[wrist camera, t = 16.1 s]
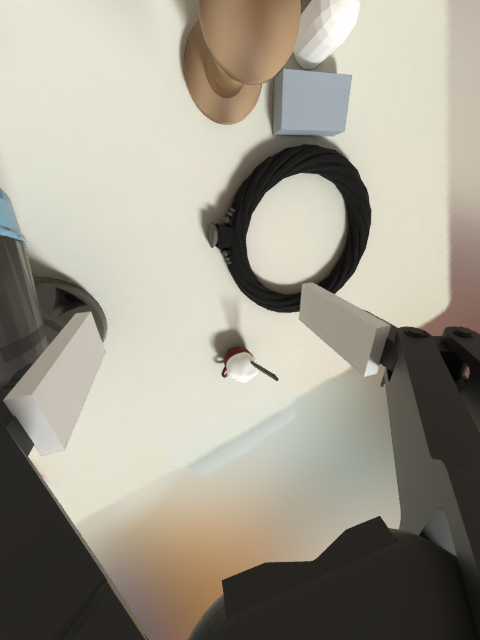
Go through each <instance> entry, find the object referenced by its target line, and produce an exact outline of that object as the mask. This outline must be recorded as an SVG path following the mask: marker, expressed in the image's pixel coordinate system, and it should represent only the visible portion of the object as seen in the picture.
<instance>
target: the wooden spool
mask: <svg viewBox="0 0 480 640" xmlns="http://www.w3.org/2000/svg"><path fill="white" fill-rule="evenodd" d="M198 11H199V19H200V20H199V21H198V22H197V23H196V24H195V26H194V27H193V29H192V31H191V32H190V35H189V37H188V40H187V44H186V49H185V56H184V73H185V79H186V83H187V87H188V90H189V93H190V95H191V97H192V99H193V101H194V103H195V104H196V106H197V107H198V108H199V110H200V111H201V112H202V113H203V114H204V115H205V116H206V117H208V118H209V119H211V120H212V121H214V122H216V123H220V124H225V125H228V124H235V123H237V122H239V121H241V120H243V119H244V118H245V117H246V116H247V115H248V114H249V113H250V112H251V111H252V110H253V108H254V106H255V105H256V103H257V101H258V98H259V96H260V92H261V88H262V83H265V82H267V81H269V80H270V79H272V78H273V77H274V76H275V75H276V74H277V73H278V72H279V71H280V70H281V68H282V67H283V66H284V65H285V64H286V62H287V61H288V59H289V57H290V55H291V53H292V51H293V49H294V46H295V44H296V40H297V37H298V32H299V27H300V18H301V1H300V0H198Z"/></svg>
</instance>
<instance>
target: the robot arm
mask: <svg viewBox="0 0 480 640" xmlns="http://www.w3.org/2000/svg"><path fill="white" fill-rule="evenodd" d="M24 242H26V238H25V236H24V235H22V234H21V231H20V228H19V225H18V222H17V219H16V216H15V213H14V209H13V206H12V203H11V201H10V199H9V197H8V196H7V194H6V193H5V192H4V191H3V190H2V189H1V188H0V640H152V638H151V637H150V636H149V634H148V633H147V631H146V630H145V629H144V627H143V626H142V624H141V623H140V621H139V620H138V619H137V617H136V615H135V614H134V612H133V611H132V610H131V608H130V607H129V605H128V604H127V602H126V601H125V600H124V598H123V596H122V595H121V593H120V592H119V590H118V589H117V587H116V586H115V584H114V583H113V581H112V580H111V579H110V577H109V575H108V574H107V573H106V571H105V570H104V568H103V567H102V565H101V564H100V562H99V561H98V559H97V558H96V556H95V555H94V553H93V552H92V550H91V549H90V547H89V546H88V545H87V543H86V541H85V540H84V539H83V537H82V536H81V534H80V533H79V531H78V530H77V528H76V527H75V525H74V524H73V522H72V521H71V519H70V518H69V516H68V515H67V513H66V512H65V510H64V509H63V507H62V506H61V505H60V503H59V502H58V500H57V499H56V497H55V496H54V494H53V493H52V491H51V490H50V488H49V487H48V485H47V484H46V482H45V481H44V479H43V478H42V476H41V475H40V473H39V472H38V471H37V469H36V468H35V466H34V465H33V463H32V462H31V460H30V459H29V458H28V455H29V453H30V451H31V450H32V448H33V446H34V447H35V448H36V450H37V451H38V453H39V454H40V456H43V455H47V454H51V453H55V452H59V451H63V450H65V448H66V446H67V443H68V441H69V439H70V436H71V434H72V431H73V429H74V427H75V424H76V422H77V419H78V417H79V415H80V412H81V410H82V407H83V405H84V403H85V400H86V398H87V396H88V393H89V391H90V388H91V386H92V384H93V381H94V379H95V376H96V374H97V372H98V369H99V367H100V364H101V362H102V360H103V357H104V355H105V352H106V351H105V349H104V346H103V342H104V339H105V337H106V333H107V321H106V317H105V315H104V312H103V310H102V309H101V307H100V306H99V304H98V303H97V302H96V301H95V300H94V299H93V298H92V297H91V296H90V295H89V294H88V293H86V292H85V291H83V290H82V289H80V288H78V287H77V286H75V285H72V284H70V283H67V282H64V281H61V280H57V279H51V278H33V276H32V271H31V267H30V263H29V259H28V255H27V251H26V247H25V243H24ZM299 320H300V321H301V322H303V323H304V324H305V325H306V326H307V327H308V328H309V329H311V330H312V331H313V332H314V333H315V334H316V335H317V336H318V337H320V338H321V339H322V340H323V341H324V342H325V343H326V344H328V345H329V346H330V347H331V348H332V349H333V350H334V351H335V352H337V353H338V354H339V355H340V356H341V357H342V358H343V359H345V360H346V361H347V362H348V363H349V364H350V365H351V366H352V367H354V368H355V369H356V370H357V371H358V372H359V373H360V374H362V375H363V376H364V377H365V376H369V375H373V374H377V372H378V368H379V365H380V364H382V365H383V366H385V367H386V370H385V373H384V376H383V379H382V382H381V386H382V387H383V385H384V384H385V386H386V394H387V402H388V410H389V419H390V427H391V435H392V443H393V451H394V459H395V467H396V475H397V483H398V492H399V500H400V507H401V521H400V527H399V530H398V529H391V528H388V527H387V526H386V524H385V523H384V521H383V520H382V519H381V517H380V516H378V517H376V518H374V519H371V520H369V521H366V522H364V523H361V524H359V525H356V526H354V527H352V528H349V529H347V530H345V531H344V532H343V533H342V534H341V535H340V536H339V537H338V538H337V539H336V540H335V541H334V542H333V543H332V544H331V545H330V546H329V547H328V548H327V549H326V550H325V551H324V552H323V553H322V554H321V555H320V556H319V557H318V558H317V559H315V560H313V561H305V562H273V563H272V562H269V563H263V564H261V565H258V566H256V567H254V568H251V569H249V570H246V571H244V572H242V573H239V574H236V575H234V576H232V577H229V578H227V579H224V580H222V586H223V592H224V594H223V595H222V596H221V597H220V598H218V599H217V600H216V601H215V602H214V603H213V604H212V605H211V607H210V608H209V609H208V610H207V611H206V612H205V613H204V615H203V616H202V618H201V619H200V620H199V622H198V623H197V625H196V626H195V628H194V629H193V631H192V633H191V635H190V637H189V638H188V640H480V334H478V333H477V332H475V331H472V330H470V329H468V328H464V327H447V328H445V330H444V332H443V335H442V336H431V335H430V334H429V333H427V332H426V331H424V330H421V329H419V328H414V327H400V328H397V327H395V326H394V325H392V324H390V323H388V322H386V321H384V320H382V319H380V318H379V317H377V316H374V315H373V314H371V313H370V312H368V311H365V310H362V309H360V308H358V307H357V306H355V305H353V304H351V303H349V302H347V301H346V300H344V299H342V298H340V297H338V296H336V295H335V294H333V293H331V292H329V291H327V290H325V289H324V288H322V287H320V286H318V285H316V284H314V283H313V282H311V283H303V284H302V291H301V303H300V314H299ZM468 367H469V369H470V375H469V378H467V377H466V376H465V375H464V374H465V372H466V371H467V368H468Z"/></svg>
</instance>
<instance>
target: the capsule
mask: <svg viewBox="0 0 480 640" xmlns="http://www.w3.org/2000/svg"><path fill="white" fill-rule="evenodd" d="M360 2H361V0H311V1H310V3H309V4H308V6H307V7H306V9H305V10H304V11H303V13H302V14H301V18H300V27H299V32H298V37H297V40H296V44H295V46H294V49H293V53H294V56H295V59H296V60H297V62H298V63H299V65H300V66H302V67H304V68H306V69H313V68H315V67H316V66H317V65H319V64H320V63H321V62H322V61H323V60H324V59H326V58H327V57H328V56H329V55H330V54H331V53H332V52H333V51H334V50H335V49H336V48H338V47H339V46H340V45H341V44H342V43H343V42H344V41H345V40H346V38H347V37H348V35H349V34H350V32H351V31H352V29H353V28H354V26H355V24H356V21H357V18H358V15H359V10H360Z"/></svg>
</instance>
